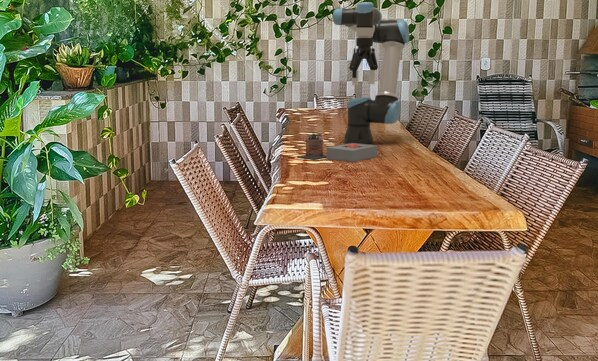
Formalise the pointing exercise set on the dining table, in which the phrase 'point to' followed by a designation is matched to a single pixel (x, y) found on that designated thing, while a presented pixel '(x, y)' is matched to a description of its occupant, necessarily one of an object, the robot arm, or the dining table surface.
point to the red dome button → (352, 145)
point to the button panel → (352, 152)
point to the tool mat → (312, 157)
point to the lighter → (314, 145)
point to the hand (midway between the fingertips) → (363, 84)
